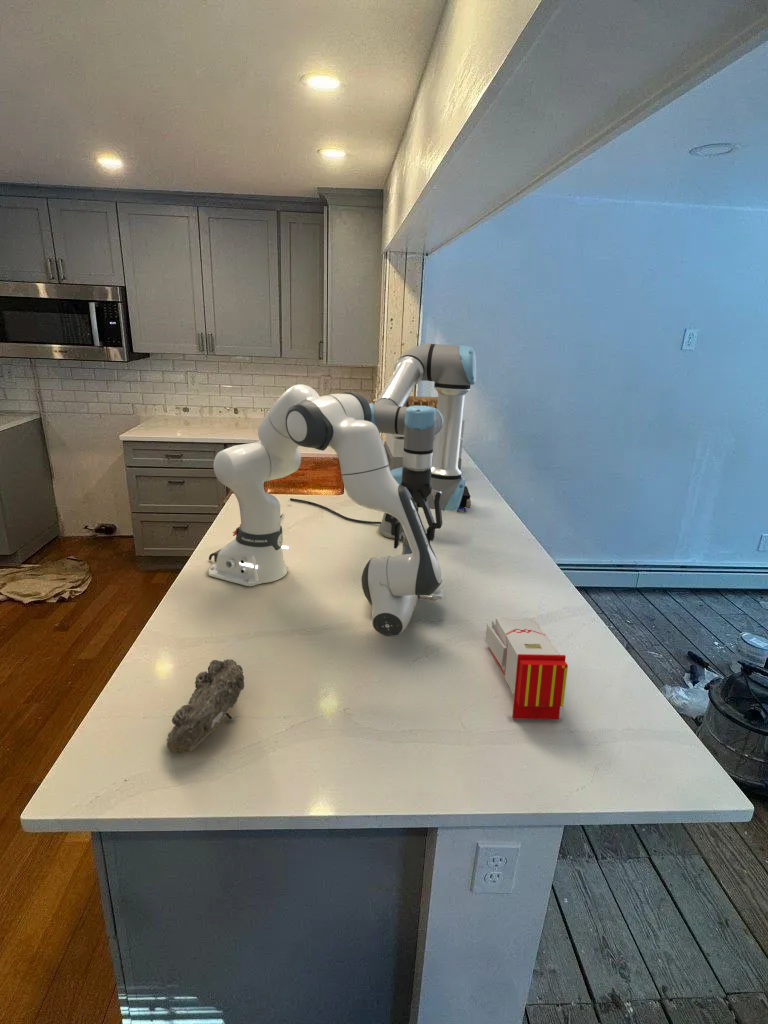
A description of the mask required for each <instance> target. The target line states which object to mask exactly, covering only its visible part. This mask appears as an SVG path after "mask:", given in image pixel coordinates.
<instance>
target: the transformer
mask: <svg viewBox="0 0 768 1024" xmlns="http://www.w3.org/2000/svg"><path fill="white" fill-rule="evenodd" d="M437 403H438V396H415V395H414V396H413V395H412V396H411V395H409V397H408V399H407V401H406V403H405V405H404V406H403V407H410V406H417V405H419V406H429V407H434V408H436V409H437ZM464 429H465V419H464V418H462V428H461V438H460V448H459V459H458V469H459V470H460V471H461V472H462V461H463V460H462V453H463V442H464V441H463V440H462V439H463V438H464V431H465V430H464ZM434 438H435V436H434ZM383 444H384V447H385V450H386V454H387V458H388V463H389V468H390V471H391V470H393V469H396V468H401V467H404V466H403V450H404V435H399V434H389V433H385V438H384V441H383ZM433 449H434V442H433ZM432 461H433V456H432Z"/></svg>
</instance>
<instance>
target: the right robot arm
mask: <svg viewBox="0 0 768 1024" xmlns="http://www.w3.org/2000/svg"><path fill="white" fill-rule="evenodd" d="M421 381H423V382H434V383H433V384H434V386H433V387H434V389H435V391H436V392H437V397H438V403H437V409H436V408H434V407H429V406H419V405H417V406H410V407H403V406H404V405H405V403H406V401H407V399H408V397H409V396H411V393H412V391H413V389H414V388H415V386H416V385H418V384H419V383H420V382H421ZM476 382H477V357H476V352H475V350H474V348H473V347H471V346H467V345H461V344H459V345H457V344H441V343H439V344H438V343H423V344H419V345H415V346H413V347H411V348H410V349H408V350H407V351H405V352H404V353H402V354H401V356H399V357H398V358H397V360H396V362H395V363H394V366H393V373H392V374H391V376H390V378H389V379H388V382H387V383H386V385H385V387H384V388H383V390H382V391H381V393H380V395H379V396H378V398H377V399H376V401H375V402H374V403H372V402H371V403H369V405H370V408H371V413H372V418H371V422H372V423H373V424H374V425H376V427H377V428H378V431H379V433H380V434H386V433H389V434H399V435H404V450H403V466H404V467H401V468H396V469H393V470H391V473H392V475H393V477H394V478H395V480H396V481H397V482H398V483H399V484H400V485H402V486H404V487H406V488H407V489H408V491H409V492H410V494H411V496H412V498H413V501H414V503H415V505H416V508H417V511H418V512H419V508H422V511H423V514H424V516H425V520H426V523H427V526H428V527H427V528H426V535H427V537H428V540H429V543H430V544H431V542H433V541H434V539H435V536H436V530H437V529H438V530H440V529H441V528H442V526H443V524H444V523H443V512H456V511H457V509H458V507H459V505H460V502H461V499H462V495H463V491H464V487H465V486H466V478H464V477H462V475H463V474H462V470H461V471H460V470H459V469H458V459H459V448H460V439H462V438H461V428H462V419H464V408H465V407H464V406H465V397H466V395H467V394H468V393H469V392H470V391H471V386H474V385H476ZM434 436H435V438H434ZM433 442H434V449H433ZM432 456H433V461H432ZM289 500H290V501H293V502H299V503H305V504H309V505H314V506H317V507H319V508H321V509H324V510H326V511H328V512H330V513H333V514H334V515H336V516H338V517H340V518H342V519H344V520H347V521H351V522H355V523H360V524H361V523H362V524H369V525H378V533H379V534H380V535H381V536H382V537H385V538H387V539H389V540H393V548H394V549H398V547H399V545H400V541H401V535H402V533H403V532H404V529H403V527H402V524H401V523H400V521H399V520H398V519H397V518H395V517H394V516H392V515H390V514H387V513H384V512H383V515H382V519H381V521H372V520H362V519H355V518H352V517H351V518H350V517H349V516H348V517H347V516H346V515H343V514H341V513H339V512H337V511H335V510H333V509H331V508H330V507H327V506H325V505H322V504H320V503H318V502H317V503H316V502H313V501H310V500H309V501H308V500H305V499H300V498H293V497H290V498H289ZM432 510H434V514H435V519H434V516H433V514H432Z"/></svg>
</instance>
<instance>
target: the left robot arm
mask: <svg viewBox="0 0 768 1024" xmlns="http://www.w3.org/2000/svg"><path fill="white" fill-rule="evenodd" d="M369 404H370V403H369V402H368V400H367V399H366V398H365V396H363V395H362V394H359V393H356V392H349V391H348V392H347V391H344V392H340V393H330V394H324V395H319V393H318V392H317V391H316V390H315V389H314V388H313V387H311V386H310V385H306V384H303V383H299V384H294V385H292V386H290V387H289V388H288V389H286V391H285V392H283V393H282V394H281V395H280V396H279V397H278V398H277V399H276V401H275V402H274V403H273V404H272V405H271V407H270V409H269V410H268V412H267V413H266V415H265V416H264V418H263V419H262V420H261V422H260V423H259V425H258V427H257V428H258V429H257V435H258V440H257V441H255V442H250V443H249V442H248V443H243V444H236V445H232V446H230V447H227V448H225V449H222V450H220V451H218V452H217V453H216V455H215V456H214V460H213V464H212V465H213V466H212V467H213V473H214V475H215V477H216V479H217V480H218V481H219V482H220V484H222V485H223V486H225V487H226V488H228V489H230V491H231V492H232V493H233V494H234V496H235V498H236V500H237V502H238V507H239V516H240V524H239V526H237V528H236V529H235V530H234V531H233V532H232V536H233V537H235V538H234V539H232V540H231V541H230V542H228V543H227V544H226V545H224V546H223V547H222V548H220V549H218V550H216V551H214V552H212V553H210V554H209V556H208V560H209V561H212V560H213V561H214V562H213V563H212V564H211V566H210V567H209V569H208V576H209V577H212V578H216V579H219V580H223V581H227V582H231V583H235V584H238V585H242V586H246V587H255V586H258V585H262V584H267V583H272V582H276V581H278V580H280V579H282V578H284V577H285V576H286V575H287V573H288V568H287V566H286V563H285V559H284V552H283V549H285V550H289V546H288V545H283V543H284V535H283V526H282V525H281V519H280V516H281V503H280V501H279V500H278V498H277V496H276V495H273V494H271V493H269V492H266V490H265V485H264V484H265V482H269V481H274V480H279V479H282V478H285V477H287V476H289V475H291V474H293V473H295V472H297V471H298V470H299V468H300V467H301V462H302V454H301V450H300V448H299V447H303V448H308V449H309V448H310V449H315V450H318V451H321V452H322V451H325V450H326V449H327V448H328V447H329V448H331V449H332V450H333V451H334V452H335V453H336V455H337V458H338V462H339V469H340V473H341V479H342V484H343V487H344V490H345V492H346V494H347V497H348V498H349V499H350V500H351V501H352V502H354V503H355V504H356V505H358V506H360V507H362V508H365V509H368V510H372V511H377V512H380V513H383V514H384V513H387V514H390V515H392V516H394V517H395V518H397V519H398V520H399V521H400V523H401V524H402V527H403V529H404V532H405V534H406V537H407V540H408V542H409V545H410V548H411V550H412V553H411V554H404V555H402V554H397V555H384V556H377V557H372V558H369V560H368V561H367V562H366V564H365V566H364V568H363V570H362V574H361V588H362V591H363V594H364V597H365V599H366V600H367V602H369V604H370V605H371V606H372V612H371V613H372V614H371V624H372V627H373V629H374V631H376V632H377V633H378V634H380V635H382V636H385V637H396V636H398V635H401V633H403V632H404V631H405V630H406V628H407V627H408V625H409V623H410V621H411V619H412V617H413V612H414V610H415V608H416V606H417V602H418V600H423V601H430V602H436V601H439V600H442V598H443V597H444V592H445V583H446V582H445V580H444V579H443V578H442V576H443V575H442V573H443V572H442V568H441V565H440V562H439V561H438V558H437V556H436V554H435V552H434V550H433V548H432V547H433V546H432V545H431V542H430V543H429V540H428V537H427V535H426V533H427V531H426V529H425V526H424V524H423V522H422V518H421V516H420V513H419V510H418V511H417V508H416V505H415V503H414V501H413V498H412V496H411V494H410V492H409V491H408V489H407V488H406V487H404V486H402V485H400V484H399V483H398V482H397V481H396V480H395V478H394V477H393V475H392V473H391V471H390V467H389V463H388V458H387V454H386V450H385V447H384V441H383V439H382V435H381V433H379V431H378V428H377V427H376V425H374V424H373V423H372V422H371V418H372V413H371V408H370V405H369ZM212 558H213V559H212Z"/></svg>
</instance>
